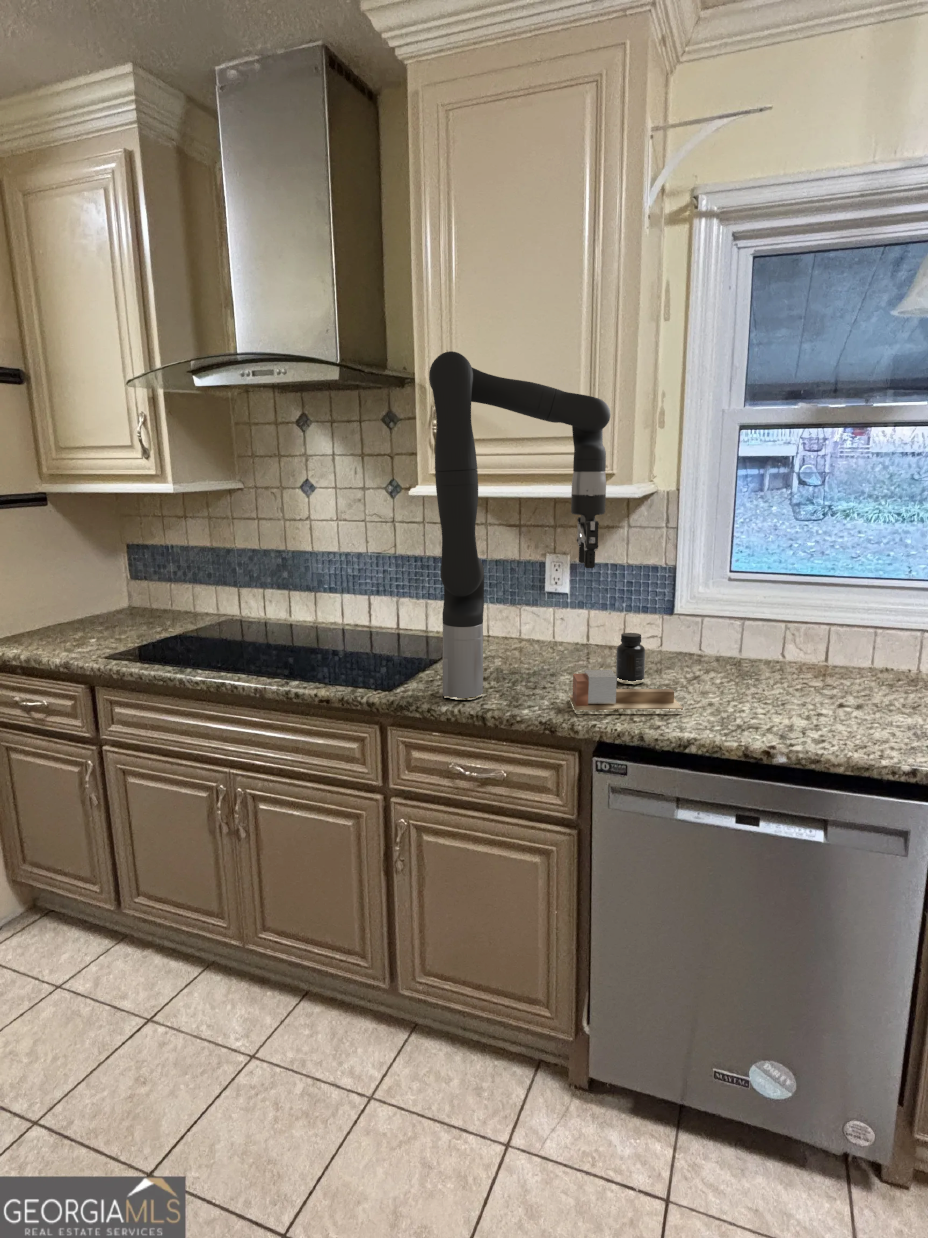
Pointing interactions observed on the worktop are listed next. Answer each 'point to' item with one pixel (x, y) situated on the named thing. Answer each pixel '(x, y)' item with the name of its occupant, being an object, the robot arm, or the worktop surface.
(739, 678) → the worktop surface
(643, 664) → the supplement bottle
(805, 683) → the worktop surface
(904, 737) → the worktop surface
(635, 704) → the rail
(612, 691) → the block
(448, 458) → the robot arm
